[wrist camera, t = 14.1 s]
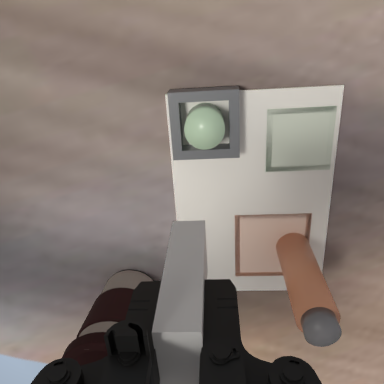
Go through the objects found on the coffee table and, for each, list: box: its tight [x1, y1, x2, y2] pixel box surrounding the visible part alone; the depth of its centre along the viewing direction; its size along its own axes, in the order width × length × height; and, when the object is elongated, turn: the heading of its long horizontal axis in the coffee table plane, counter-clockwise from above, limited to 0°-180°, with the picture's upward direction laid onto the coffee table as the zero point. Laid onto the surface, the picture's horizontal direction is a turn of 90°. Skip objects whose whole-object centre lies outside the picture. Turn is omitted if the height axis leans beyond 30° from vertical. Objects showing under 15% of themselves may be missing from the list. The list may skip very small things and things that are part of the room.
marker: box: [276, 233, 341, 347], centre depth 38 cm, size 4×4×14 cm
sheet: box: [165, 85, 344, 291], centre depth 42 cm, size 18×26×1 cm
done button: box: [184, 103, 225, 150], centre depth 36 cm, size 4×4×3 cm
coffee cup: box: [62, 270, 153, 366], centre depth 42 cm, size 10×10×15 cm
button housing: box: [167, 86, 240, 160], centre depth 37 cm, size 7×7×2 cm
